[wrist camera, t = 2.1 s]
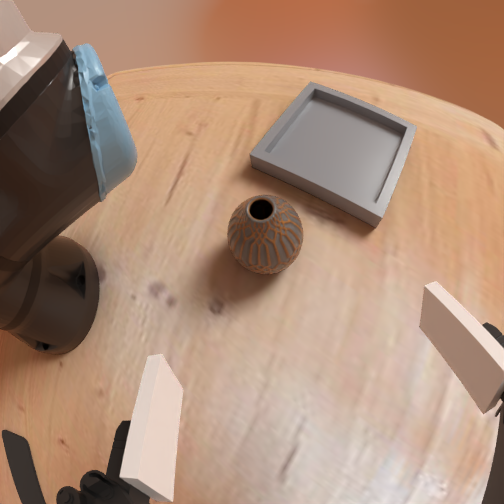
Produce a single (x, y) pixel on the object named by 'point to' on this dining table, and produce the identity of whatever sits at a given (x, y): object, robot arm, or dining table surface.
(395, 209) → the dining table surface
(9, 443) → the phone
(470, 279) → the dining table surface
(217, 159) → the dining table surface
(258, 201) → the vase
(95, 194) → the robot arm
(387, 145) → the tray
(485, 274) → the dining table surface
